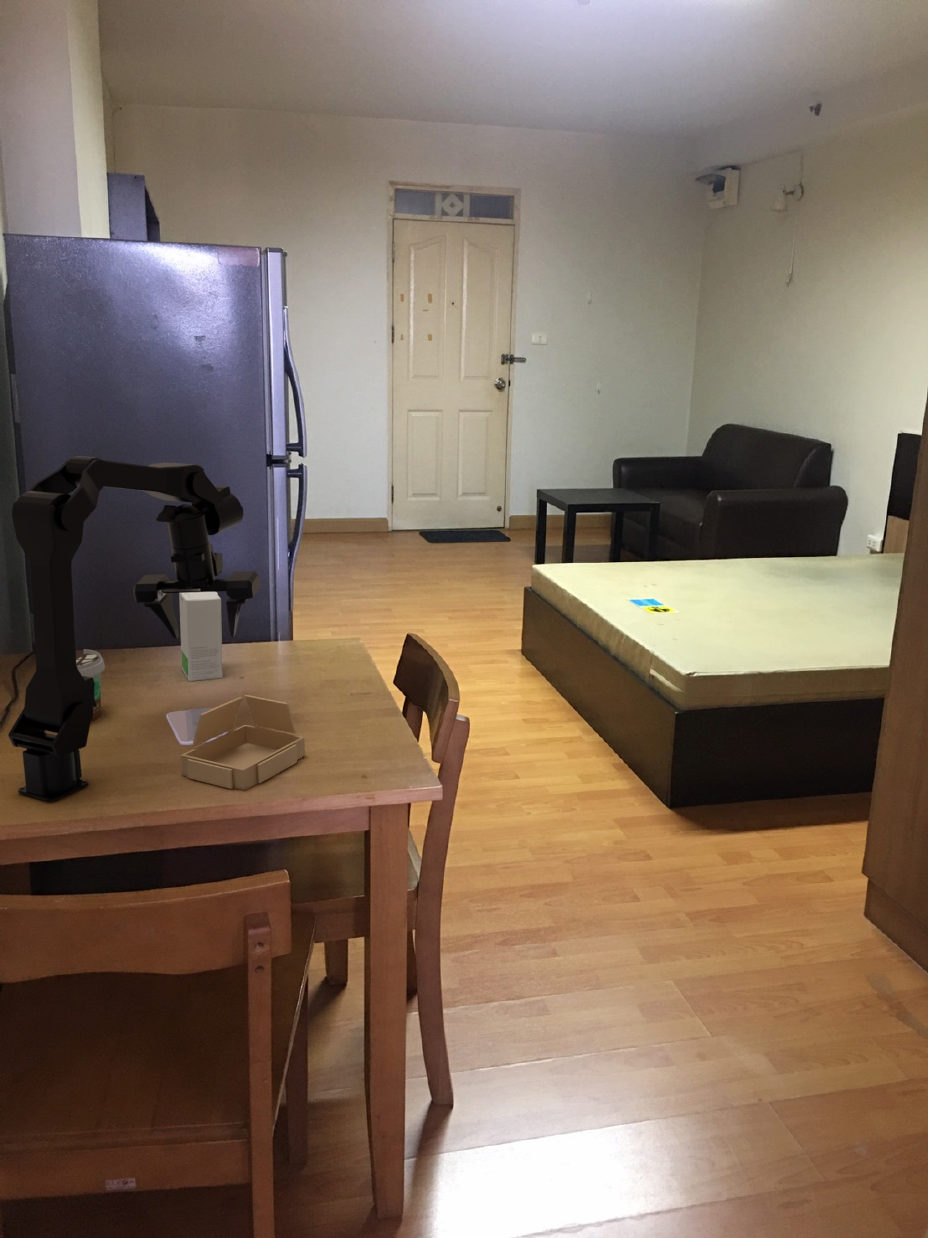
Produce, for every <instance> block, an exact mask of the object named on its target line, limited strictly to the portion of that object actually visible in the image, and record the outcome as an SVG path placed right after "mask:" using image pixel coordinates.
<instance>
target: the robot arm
mask: <svg viewBox="0 0 928 1238" xmlns="http://www.w3.org/2000/svg"><path fill="white" fill-rule="evenodd" d="M103 488H110V489H120V490H122V489H123V490H134V491H141V492H144V493H147V494H148V495H149V496H151V497H154V498H156V499H160V500H163V501H171V502H182V503H183V504H180V505H178V506H177V505H169V504H165V505H164V506H163V508H162V510H161V511H160V512H159V513H158V515H157V516H156V518H155V519H156V522H158V523H165V524H166V523H167V528H168V534H169V540H170V545H171V552H172V554H171V556H170V561H171V563H173V564H174V568H175V569H174V571H175V576H176V577H175V578H176V579H175V580H170V578H169V576H168V575H167V574H165V573H164V574H159V573H158V574H144V575H143V577H141V579H139V581H137V583H135V585H134V586H133V589H132V595H133V599H134V602H135V603H138V604H139V603H140V604H141V603H142V604H143V607H144V608H149V609H150V610H152V612H153V613H154V614H155V615H156V616H157V617H158V619H159V620H160V621H161V622H162V624H163V625H164V626H165V628H166V629H167V630H168V632H169V633H170V635H171V636H172V637H173V638H174V639H178V638H179V636H180V634H179V626H178V623H177V619H176V614H175V610H174V606H173V594H179V593H189V592H217V593H218V592H225V593H226V596H227V597H228V599H227V600H226V602H225V605H226V612H227V614H226V615H227V621H228V622H227V623H228V629H229V633H230V637H231V638H232V637H233V638H234V637H235V635H236V633H237V629H238V623H239V618H240V613H241V609H242V606H243V605H244V604H246V603H247V602H248V600H250V599H254V597H255V595H256V594H257V593H258V591H259V589H260V587H261V581H260V576H259V574H258V573H257V572H256V571H254V570H253V571H252V570H251V571H250V570H248V571H247V570H246V571H233V572H232V573H231V575H230V576H229V577H228V578H221V579H219V578H218V579H217V578H215V577H218V576H219V575H220V574H222V573H224V565H223V564H224V563H223V561H224V560H223V559H224V558H223V553H222V552H214V547H213V543H211V542H210V537H209V536H214V535H217V534H219V533H222V532H224V531H227V530H228V529H231V528H233V527H236V526H237V525H239V524H240V523H241V522H242V520H243V518H244V507H243V505H242V504H241V502H240V501H239V499H238V498H237V497H236V495H234V494H232V492H231V488H230V486H229V485H228V486H227V485H218V486H215V485H214V484H213V483H212V481H211V480H210V479H209V477H208V476H207V475H206V473H205V469H204V467H203V466H202V465H200V464H197V463H196V464H195V463H194V464H191V463H180V462H179V463H178V462H159V463H151V464H149V465H142V464H137V463H135V464H134V463H129V462H122V461H113V460H106V459H103V458H101V457H98V456H96V457H95V456H84V455H83V456H81V455H76V456H74V455H73V456H72V457H70V458H68V459H67V460H66V461H64V463H63V464H62V465H61V466H60V467H59V468H58V469H57V470H55V471H53V472H51V473H50V474H48V475H46V476H45V477H43V478H42V479H40V480H38V481H36V482H35V483H34V484H33V485H32V486H31V488H30V489H28V491H25V492H23V493H22V494H21V495H19V497H18V498H17V499H16V501H14V502H13V504H12V507H11V508H12V509H11V517H12V523H13V527H14V532H15V537H16V541H17V542H18V544H19V545H20V547H21V550H23V553H24V554H25V555H26V557H27V559H28V561H29V564H30V582H31V598H32V615H33V631H34V632H33V633H34V634H33V635H34V646H35V647H34V648H35V649H34V650H35V671H34V672H33V674H32V676H31V677H30V679H29V682H28V683H27V685H26V687H25V694H24V695H25V697H24V707H23V709H22V711H21V713H19V715H18V717H17V719H16V721H15V722H14V723H13V726H12V727H11V729H10V731H9V732H8V734H7V735H8V738H9V740H10V742H11V745H12V747H15V748H21V749H24V750H23V751H22V762H23V772H24V773H23V774H24V780H25V785H24V786H22V787H19V788H18V789H17V793H18V794H22V795H24V796H28V797H32V798H35V799H37V800H38V799H39V800H42V801H46V802H49V803H50V802H55V801H57V800H60V799H62V798H64V797H65V796H68V795H71V794H72V793H75V792H77V791H79V790H81V789H83V788H86V787H88V786H89V781H88V780H85V779H82V778H83V777H82V775H83V774H82V765H81V763H82V762H81V752H80V751H81V749H83V748H85V747H87V742H88V739H89V734H90V733H89V732H90V727H91V723H92V722H91V721H92V718H93V707H97V704H96V702H95V698H94V689H95V683H94V679H93V678H92V677H86V676H82V675H81V673H80V671H79V670H78V668H77V663H76V658H77V650H76V649H77V648H76V646H77V645H76V644H77V643H76V629H75V628H76V627H75V608H74V607H75V606H74V588H73V587H74V586H73V584H74V583H73V567H72V563H73V559H74V557H75V555H76V553H77V551H78V550H79V548H80V546H81V544H82V542H83V535H84V524H85V521H86V520H87V519H88V518H89V517H90V516H91V514H92V513H93V512H94V511H95V509H96V508H97V505H98V501H99V496H100V491H101V490H103ZM72 492H73V494H72V495H71V493H72ZM188 503H191V504H188ZM45 731H46V732H45ZM48 732H51V733H48ZM52 733H53V734H52Z"/></svg>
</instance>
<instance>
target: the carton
mask: <svg viewBox="0 0 928 1238" xmlns="http://www.w3.org/2000/svg"><path fill="white" fill-rule="evenodd" d="M305 739H306V738H305V737H304V736H300V735H296V734H292V733H287V732H283V731H281V732H280V731H278V730H273V729H269V728H264V727H258V726H255V725H254V726H253V725H248V724H244V725H241V726H240V727H237V728H236V729H232V730H230V731H228V732H227V733H226V734H224V735H222V736H220V737H218V738H216V739H214V740H212V741H210V742H205V743H202V744H200V745H198V746H196V747H195V748H193V749H191V750H188V751H187V752H185V753H182V754H180V768H181V776H184V777H187V778H188V779H192V780H195V781H199V782H203V783H207V784H211V785H215V786H219V787H223V788H226V789H231V790H232V789H236V790H239V791H243V792H245V791H246V790H249V789H250V788H252V787H253V786H255V785H257V784H261V783H263V782H265V781H266V780H269V779H270V778H272V777H274V776H276V775H277V774H279V773H281V772H283V771H284V770H286V769H287V768H290V767H292V766H293V765H295V764H296V763H298V761H299V760H298V759H300V758H301V759H302V757H303V756H305V757H306V748H305V746H306V745H305V741H306V740H305ZM303 758H304V757H303ZM301 759H300V760H301ZM297 760H298V761H297Z"/></svg>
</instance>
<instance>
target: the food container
mask: <svg viewBox="0 0 928 1238" xmlns="http://www.w3.org/2000/svg"><path fill="white" fill-rule="evenodd" d="M76 663H77V668H78V670H79V671H80V673H81V675H82V676H86V677H92V678H93V679H94V683H95V689H94V698H95V702H96V704H97V707H93V718H92V721H91V723H92V722H94V721H97V720H98V719H100V717H101V716H102V715H101V714H102V713H101V712H102V709H101V707H102V705H101V704H102V690H101V689H102V687H101V686H102V672H104V671H105V669H106V665H105V662H104V658H103V657H102V656H101V654H100V652H98V651H96V650H92V649H85V648H83V654H82V655H80V656H78V657H76Z"/></svg>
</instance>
